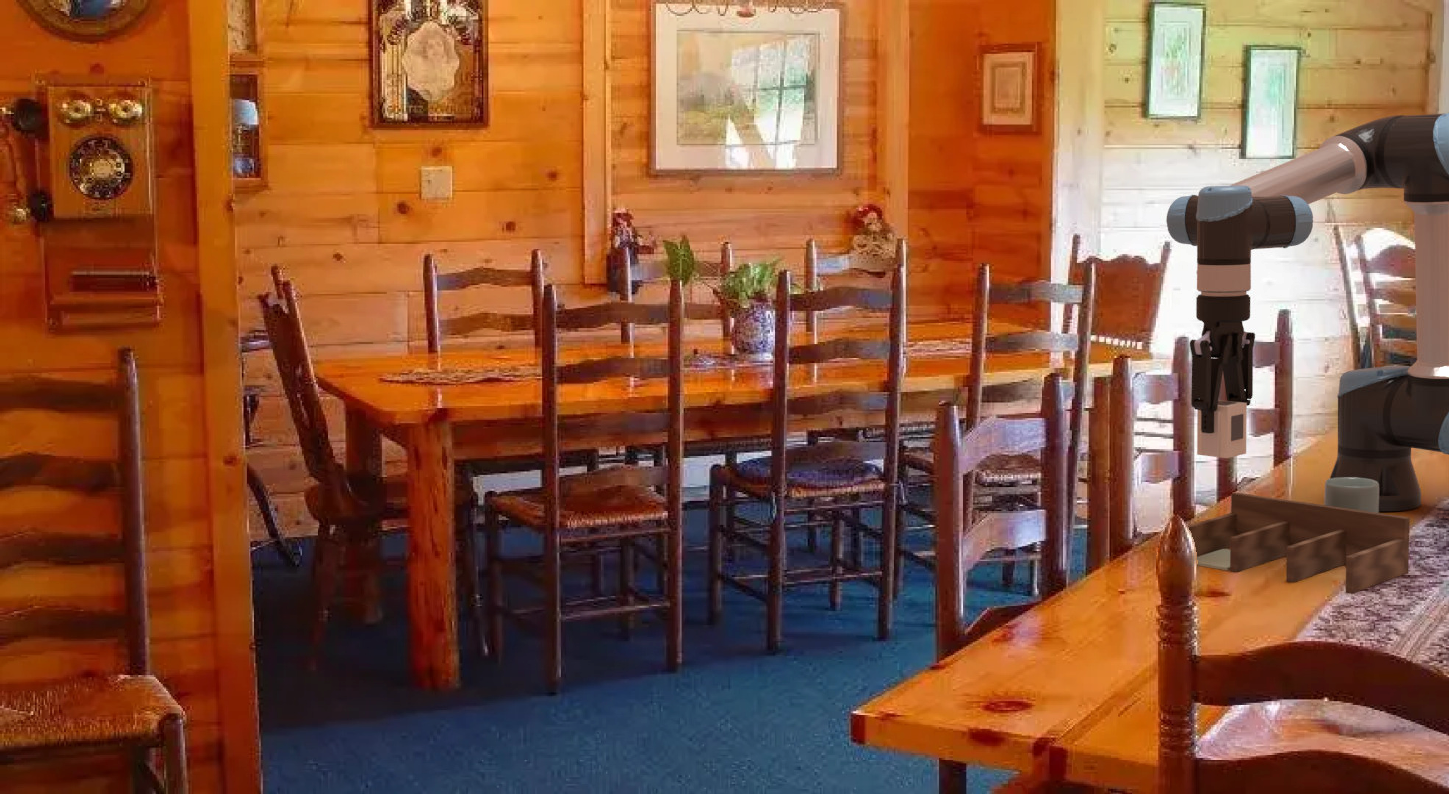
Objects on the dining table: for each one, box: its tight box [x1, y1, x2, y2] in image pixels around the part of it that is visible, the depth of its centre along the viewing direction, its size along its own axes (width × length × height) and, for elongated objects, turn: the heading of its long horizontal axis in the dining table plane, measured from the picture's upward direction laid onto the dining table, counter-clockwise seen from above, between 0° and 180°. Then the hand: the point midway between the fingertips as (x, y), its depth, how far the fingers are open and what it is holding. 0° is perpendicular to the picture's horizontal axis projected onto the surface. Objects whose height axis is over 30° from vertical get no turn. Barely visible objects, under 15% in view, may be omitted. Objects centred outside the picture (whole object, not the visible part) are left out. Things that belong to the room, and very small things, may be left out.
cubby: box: [1187, 492, 1411, 594], centre depth 254 cm, size 16×28×8 cm, turn 42°
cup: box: [1323, 477, 1380, 513], centre depth 266 cm, size 8×8×10 cm
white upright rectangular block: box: [1196, 399, 1248, 459], centre depth 256 cm, size 5×5×8 cm
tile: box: [1197, 548, 1230, 571], centre depth 260 cm, size 10×7×1 cm
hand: (1221, 451), depth 256 cm, fingers closed on white upright rectangular block, 5 cm apart
